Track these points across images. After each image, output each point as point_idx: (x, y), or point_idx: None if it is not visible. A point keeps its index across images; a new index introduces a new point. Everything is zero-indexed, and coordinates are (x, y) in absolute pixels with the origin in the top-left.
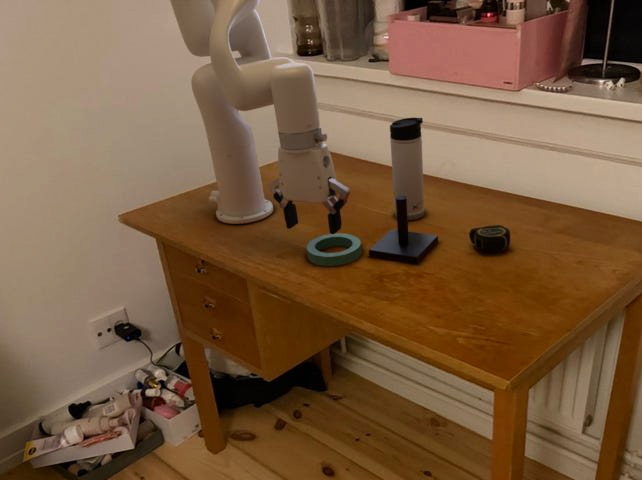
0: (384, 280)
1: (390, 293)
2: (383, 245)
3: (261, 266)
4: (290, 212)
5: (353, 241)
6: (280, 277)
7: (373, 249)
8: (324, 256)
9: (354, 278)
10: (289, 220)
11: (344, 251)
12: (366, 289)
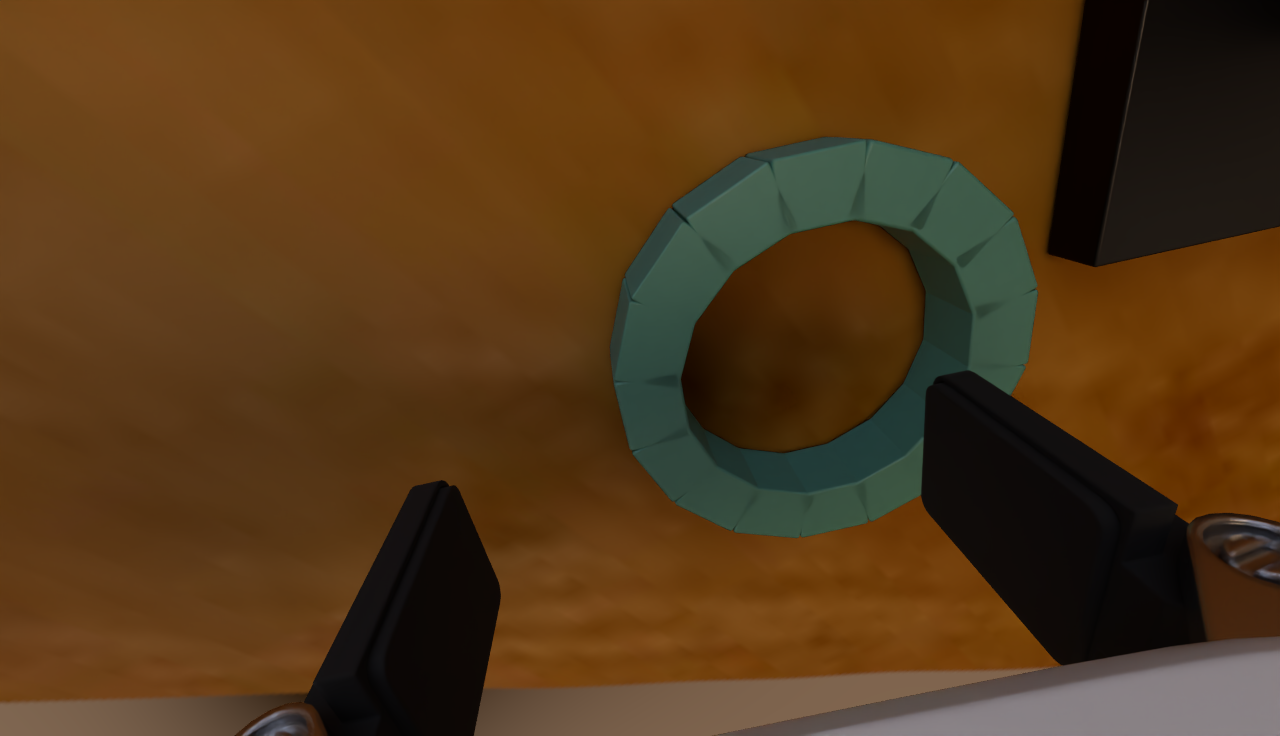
0: (1215, 429)
1: (1266, 500)
2: (1195, 139)
3: (513, 640)
4: (453, 705)
5: (953, 248)
6: (693, 651)
7: (1131, 245)
8: (867, 521)
9: None
10: (484, 655)
11: None
12: None
